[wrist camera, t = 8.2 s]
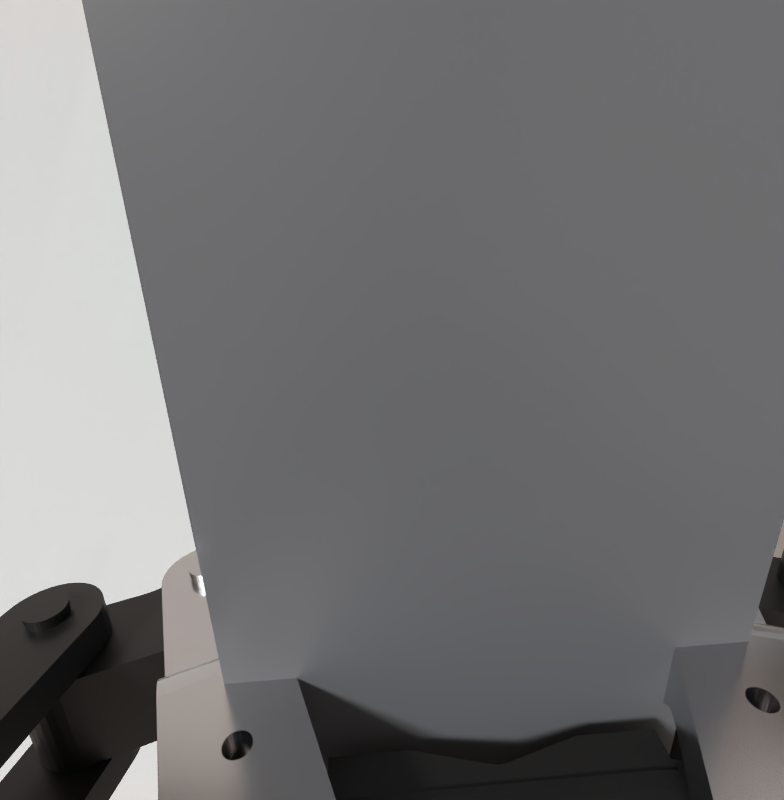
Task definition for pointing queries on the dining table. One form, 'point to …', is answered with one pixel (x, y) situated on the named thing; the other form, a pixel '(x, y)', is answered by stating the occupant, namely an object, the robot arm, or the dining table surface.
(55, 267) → the dining table surface
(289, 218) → the tall grey pillar
